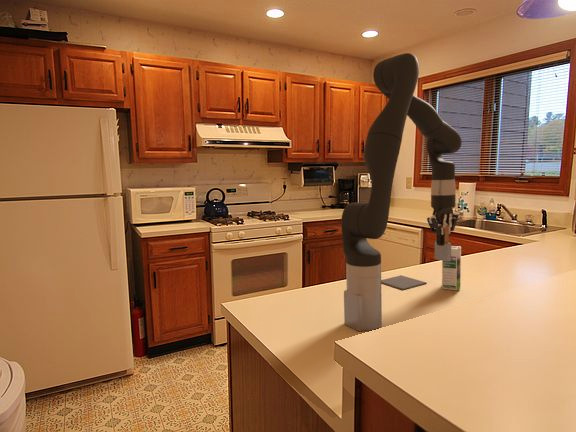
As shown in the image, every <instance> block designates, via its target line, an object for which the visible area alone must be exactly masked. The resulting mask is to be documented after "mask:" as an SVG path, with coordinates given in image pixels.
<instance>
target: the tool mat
mask: <svg viewBox="0 0 576 432" xmlns="http://www.w3.org/2000/svg"><path fill="white" fill-rule="evenodd" d="M381 284H383V285H386V286H389V287H392V288H395V289H398V290H401V291H405V290H409V289H412V288H416V287H420V286H423V285H426V284H427V282H426V281H423V280H420V279H415V278H412V277H408V276H405V275H397V276H392V277H389V278H385V279H384V278H383V279H381Z"/></svg>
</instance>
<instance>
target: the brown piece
mask: <svg viewBox="0 0 576 432" xmlns="http://www.w3.org/2000/svg"><path fill="white" fill-rule="evenodd" d="M439 225H442V224H439ZM439 229H441V228H440V227H439ZM443 235H444V245H443V246H439V245H437V242H436V241H437V240H434V260H438V261H451V246H452V242H450V234H449V225H447V224H446V227H445V228H444V234H443Z"/></svg>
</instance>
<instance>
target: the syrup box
mask: <svg viewBox="0 0 576 432" xmlns="http://www.w3.org/2000/svg"><path fill="white" fill-rule="evenodd" d="M441 261H442V260H441ZM441 271H442V272H441V273H442V275H441V289H442V290H450V291H459V292H460V290H461V283H462V282H461V281H462V279H461V276H462V272H461V271H462V246H460V245H458V246H457V245H456V246H455V245H451V261H442V262H441Z"/></svg>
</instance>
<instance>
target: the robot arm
mask: <svg viewBox="0 0 576 432" xmlns="http://www.w3.org/2000/svg"><path fill="white" fill-rule="evenodd" d="M419 74H420V65H419V60H418V58H417V56H416V55H415V54H414V53H411V52H406V53H401V54H397V55H395V56H392V57H388V58H386V59H383V60H381V61H379V62H378V63H377V64H376V65H375V66H374V68H373V74H372V75H373V76H372V77H373V81H374V82H373V83H374V85H375V87H376V88H377V89H378V90H379V92H380V93H382V94H383V96H385V97H386V98H387V99H388V101H387V103H386V104H385V106H384V107H383V109H382V110H381V111H380V112H379V114H378V115H377V116H376V118H375V119H374V121H373V122H372V124H371V125H370V127H369V129H368V132H367V134H366V139H365V140H366V141H365V143H364V148H363V159H364V163H365V166H366V169H367V172H368V174H369V178H370V181H371V182H370V183H371V188H370V195H369V199H368V200H369V201H368V202H350V203H348V204H347V205H346V206H345V207H344V209H343V211H342V214H341V219H340V220H341V223H340V225H341V237H342V238H341V239H342V250H343V254H344V256H345V268H346V269H345V270H346V272H345V273H346V274H345V277H346V289H345V290H343V309H344V311H343V314H344V315H343V318H344V325H345V326H348V327H349V328H351V329H354V330H356V331H358V332H361V331H362V332H363V331H375V330H378V329H379V328H381V327H382V325H383V322H382V319H383V317H382V316H383V315H382V312H383V309H382V299H383V298H382V283H381V280H382V255H381V254H382V253H381V251H379V250H378V249H377V248H375V247H374V246H372V245H371V244H370V243H369V241H368V239H370V240H379V239H380V238H381V237H383V235H384V234H385V232H386V229H387V226H388V221H389V218H390V217H389V215H390V206H391V198H392V190H393V183H394V177H395V173H396V168H397V164H398V159H399V155H400V150H401V147H402V146H401V145H402V140H403V136H404V130H405V125H406V121H407V117H408V118H409V119H410V120H411V121H412V123H413V124H414V126H416V129H418V130H419V132H420V133H421V135H422V136H423V137H425V138H426V142H425V146H426V147H425V148H426V153H427V155H428V158H429V161H430V166H431V184H430V207H431V208H432V209H433V210H432V216H430V217H429V216H428V217H427V218H426V221H427V223H428V226H429V229H430V231H431V233H433V234H436V240H435V241H436V242H437V245H439V246H443V245H444V235H443V234H444V228H445V227H446V224H447V225H449V235H450V234H451V232H454V231H455V228H456V225H457V221H458V219H459V214H455V213H454V210H453V209H454V208H455V207H456V198H457V197H456V195H457V194H456V192H457V191H456V189H457V188H456V187H457V186H456V164H455V163H454V162H453V161H450V160H445V158H443V157H444V156H443V155H448V154H453V153H454V154H456V153H457V152H458V151H459V150H460V149H461V147H462V143H463V141H462V137H461V135H460V133H459V132H458V131H457V130H456V129H455V128H453V127H452V126H451V125H450V124H449V123H447V122H445V121H444V120H443V119H442V117H441V115H440V114H439V113H438V111H437V110H436V109H435V107H433V105H431V104H430V103H428V102H427V101H425V100H424V99H422V98H420V97H418V96H416V95H415V94H414V93H415V92H416V91H415V90H416V87H417V85H418V80H419ZM439 224H442V225H439ZM439 227H440V228H441V229H439ZM377 328H378V329H377ZM374 329H375V330H374Z"/></svg>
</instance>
